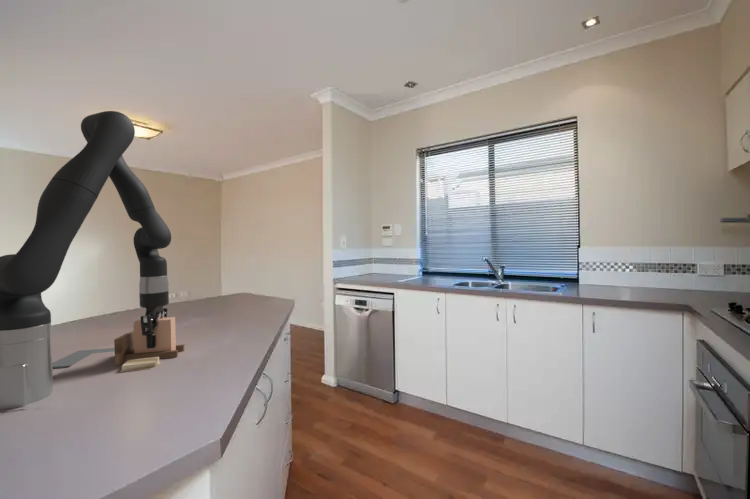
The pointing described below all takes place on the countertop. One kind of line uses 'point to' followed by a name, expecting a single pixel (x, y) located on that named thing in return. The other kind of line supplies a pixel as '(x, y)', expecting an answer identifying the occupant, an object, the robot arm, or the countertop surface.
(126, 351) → the rack
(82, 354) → the mat
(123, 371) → the cream folded flat block
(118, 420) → the countertop surface
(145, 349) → the salmon pink block
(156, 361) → the offcut upper
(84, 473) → the countertop surface
